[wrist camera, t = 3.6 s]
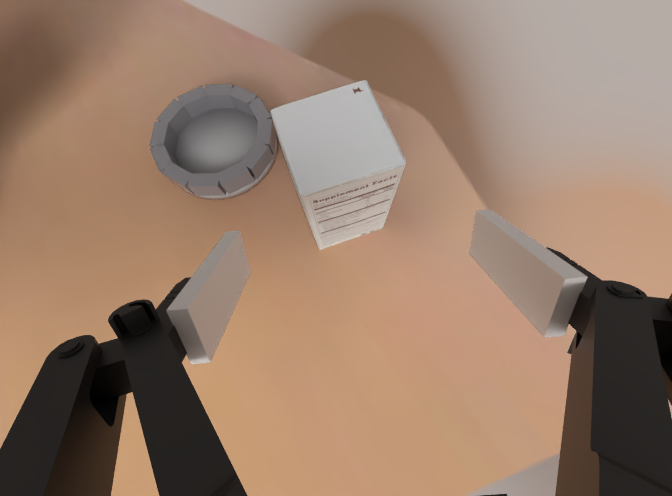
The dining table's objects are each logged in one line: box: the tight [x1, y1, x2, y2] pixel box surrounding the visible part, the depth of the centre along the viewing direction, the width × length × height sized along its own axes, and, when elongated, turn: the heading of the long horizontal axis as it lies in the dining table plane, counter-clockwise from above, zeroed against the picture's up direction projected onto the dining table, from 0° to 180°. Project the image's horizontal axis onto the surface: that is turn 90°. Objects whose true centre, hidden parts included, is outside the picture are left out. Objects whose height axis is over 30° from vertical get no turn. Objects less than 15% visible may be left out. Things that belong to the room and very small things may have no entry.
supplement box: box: [270, 80, 406, 250], centre depth 24 cm, size 7×7×13 cm
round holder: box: [150, 84, 278, 200], centre depth 32 cm, size 13×13×3 cm
